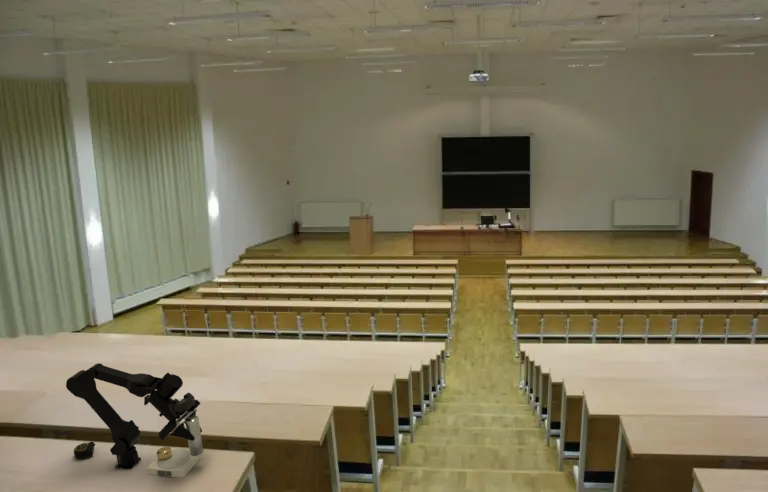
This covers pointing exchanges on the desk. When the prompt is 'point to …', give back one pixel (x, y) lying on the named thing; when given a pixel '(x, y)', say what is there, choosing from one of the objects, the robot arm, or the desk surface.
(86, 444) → the tape measure
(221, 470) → the desk surface
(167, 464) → the scale
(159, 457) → the brass weight
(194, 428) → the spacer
